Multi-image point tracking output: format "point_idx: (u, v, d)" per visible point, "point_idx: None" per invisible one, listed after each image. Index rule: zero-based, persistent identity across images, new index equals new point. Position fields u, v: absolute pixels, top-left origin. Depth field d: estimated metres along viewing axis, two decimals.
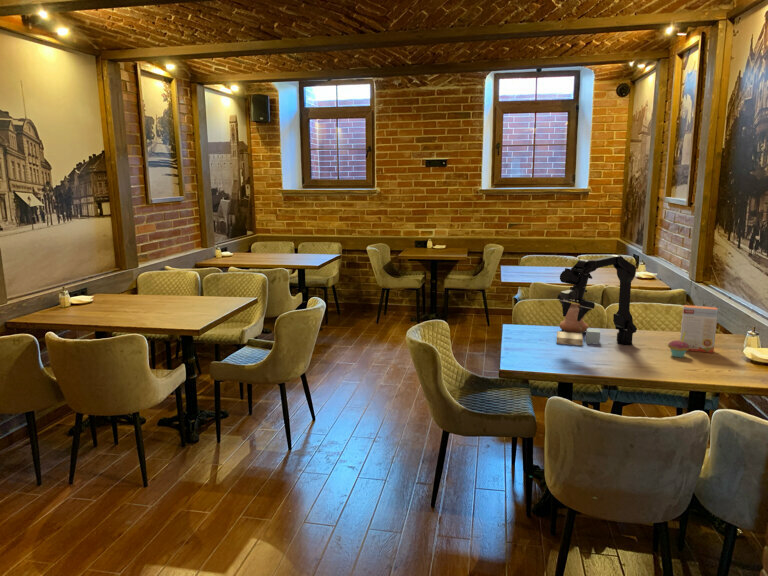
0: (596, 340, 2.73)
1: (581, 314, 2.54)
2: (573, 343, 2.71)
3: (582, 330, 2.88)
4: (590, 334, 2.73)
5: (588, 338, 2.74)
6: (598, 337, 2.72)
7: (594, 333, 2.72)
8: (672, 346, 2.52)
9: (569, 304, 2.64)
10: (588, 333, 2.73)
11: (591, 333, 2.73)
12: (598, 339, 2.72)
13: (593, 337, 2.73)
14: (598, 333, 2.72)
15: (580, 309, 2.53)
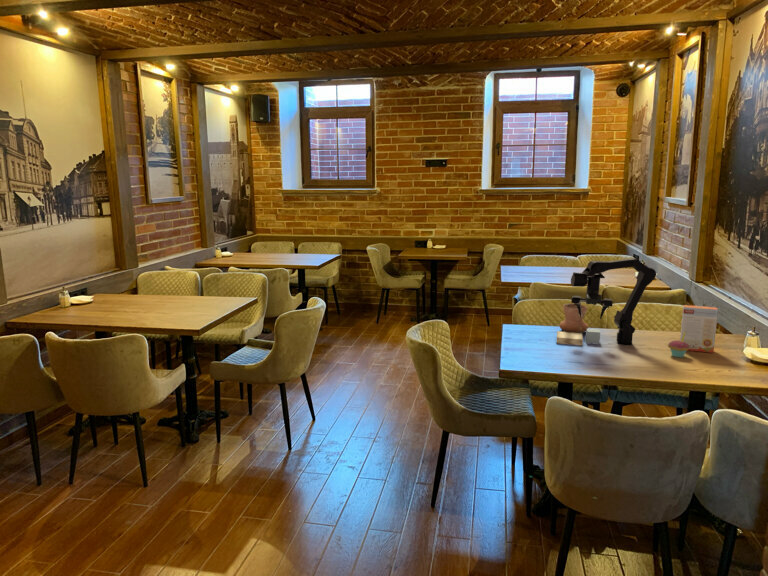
0: (596, 340, 2.73)
1: (603, 312, 2.70)
2: (573, 343, 2.71)
3: (582, 330, 2.88)
4: (590, 334, 2.73)
5: (588, 338, 2.74)
6: (598, 337, 2.72)
7: (594, 333, 2.72)
8: (672, 346, 2.52)
9: None
10: (588, 333, 2.73)
11: (591, 333, 2.73)
12: (598, 339, 2.72)
13: (593, 337, 2.73)
14: (598, 333, 2.72)
15: (604, 309, 2.68)
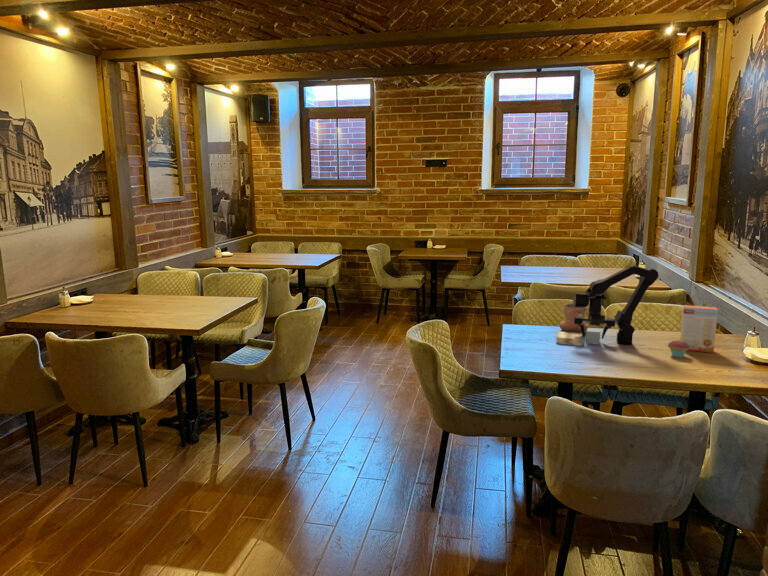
0: (596, 340, 2.73)
1: None
2: (573, 343, 2.71)
3: None
4: (590, 334, 2.73)
5: (588, 338, 2.74)
6: (598, 337, 2.72)
7: (594, 333, 2.72)
8: (672, 346, 2.52)
9: None
10: (588, 333, 2.73)
11: (591, 333, 2.73)
12: (598, 339, 2.72)
13: (593, 337, 2.73)
14: (598, 333, 2.72)
15: (606, 329, 2.71)
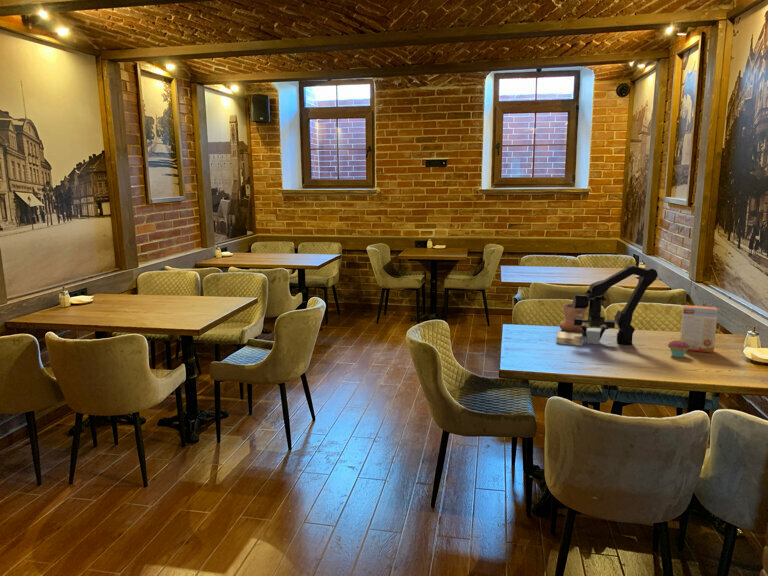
0: (596, 340, 2.73)
1: None
2: (573, 343, 2.71)
3: (582, 330, 2.88)
4: (590, 334, 2.73)
5: (588, 338, 2.74)
6: (598, 337, 2.72)
7: (594, 333, 2.72)
8: (672, 346, 2.52)
9: None
10: (588, 333, 2.73)
11: (591, 333, 2.73)
12: (598, 339, 2.72)
13: (593, 337, 2.73)
14: (598, 333, 2.72)
15: (603, 330, 2.72)
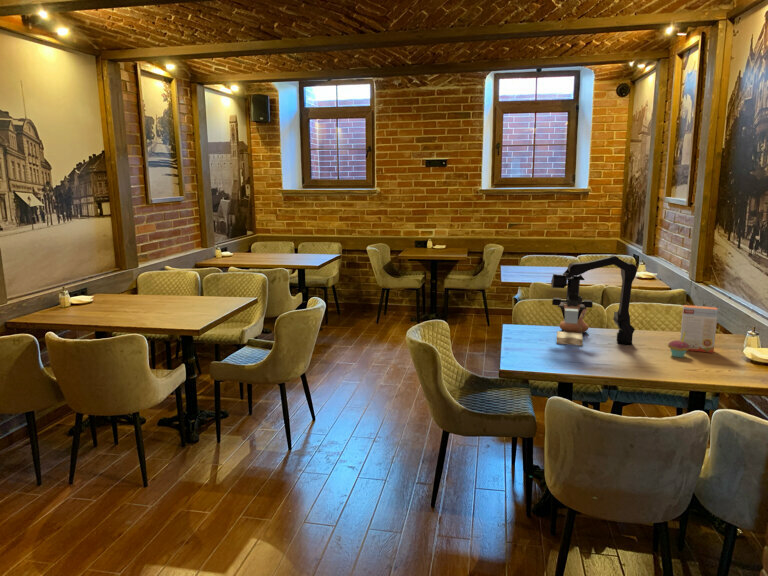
0: (574, 319, 2.72)
1: (580, 313, 2.73)
2: (573, 343, 2.71)
3: (582, 330, 2.88)
4: (568, 313, 2.72)
5: (566, 317, 2.73)
6: (576, 316, 2.72)
7: (572, 312, 2.72)
8: (672, 346, 2.52)
9: None
10: (566, 312, 2.73)
11: (569, 312, 2.72)
12: (576, 318, 2.72)
13: (571, 316, 2.72)
14: (576, 312, 2.71)
15: (581, 310, 2.71)
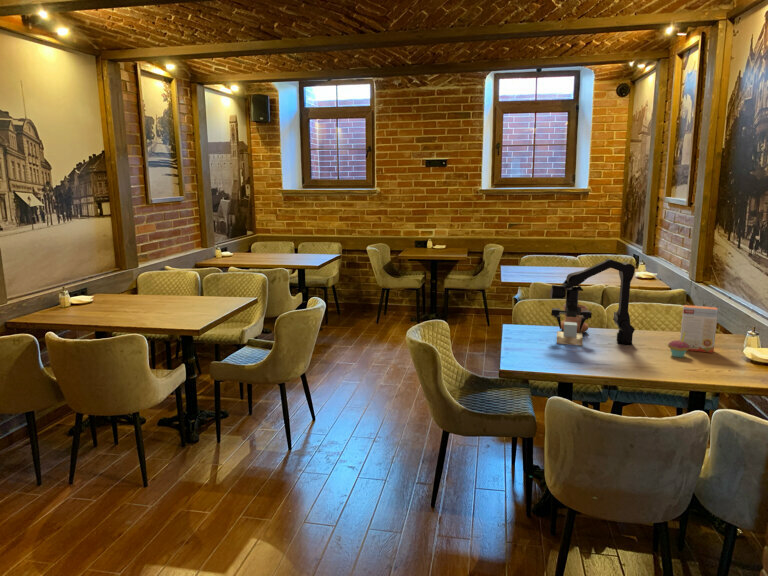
0: (573, 333, 2.73)
1: (582, 324, 2.74)
2: (573, 343, 2.71)
3: (582, 330, 2.88)
4: (567, 327, 2.74)
5: (565, 331, 2.74)
6: (575, 330, 2.73)
7: (571, 326, 2.73)
8: (672, 346, 2.52)
9: None
10: (565, 326, 2.74)
11: (568, 326, 2.74)
12: (575, 332, 2.73)
13: (570, 330, 2.74)
14: (575, 326, 2.73)
15: (583, 320, 2.72)
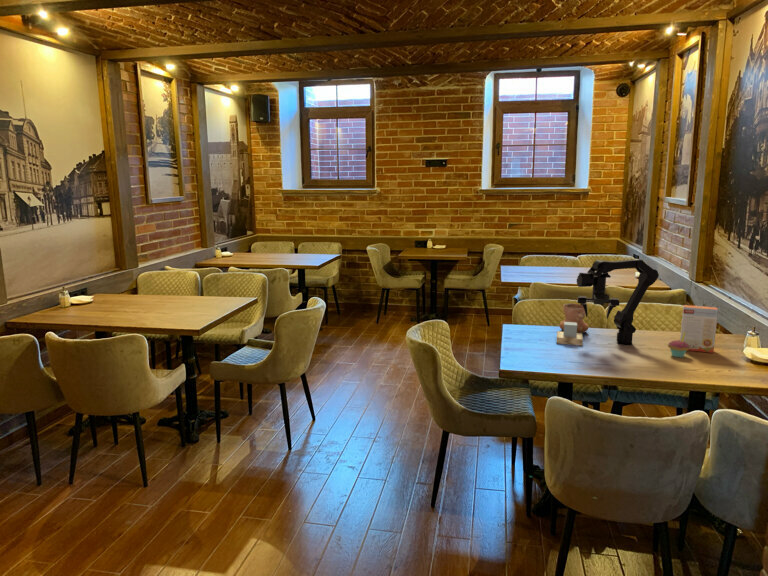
0: (573, 333, 2.73)
1: None
2: (573, 343, 2.71)
3: (582, 330, 2.88)
4: (567, 327, 2.74)
5: (565, 331, 2.74)
6: (575, 330, 2.73)
7: (571, 326, 2.73)
8: (672, 346, 2.52)
9: None
10: (565, 326, 2.74)
11: (568, 326, 2.74)
12: (575, 332, 2.73)
13: (570, 330, 2.74)
14: (575, 326, 2.73)
15: (611, 308, 2.66)
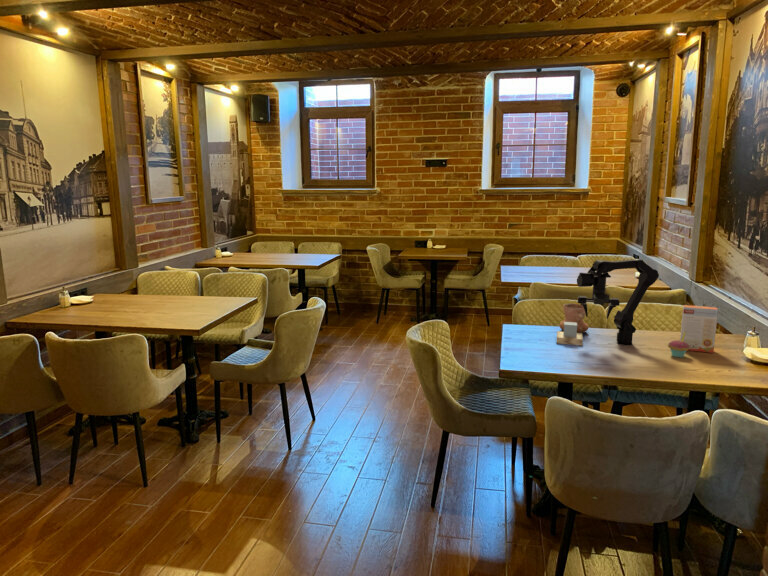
0: (573, 333, 2.73)
1: None
2: (573, 343, 2.71)
3: (582, 330, 2.88)
4: (567, 327, 2.74)
5: (565, 331, 2.74)
6: (575, 330, 2.73)
7: (571, 326, 2.73)
8: (672, 346, 2.52)
9: None
10: (565, 326, 2.74)
11: (568, 326, 2.74)
12: (575, 332, 2.73)
13: (570, 330, 2.74)
14: (575, 326, 2.73)
15: (611, 308, 2.66)
